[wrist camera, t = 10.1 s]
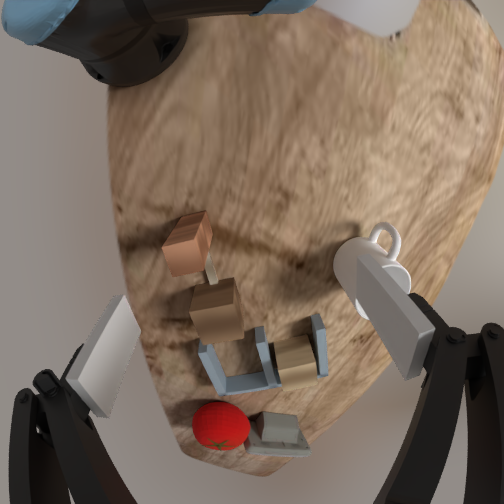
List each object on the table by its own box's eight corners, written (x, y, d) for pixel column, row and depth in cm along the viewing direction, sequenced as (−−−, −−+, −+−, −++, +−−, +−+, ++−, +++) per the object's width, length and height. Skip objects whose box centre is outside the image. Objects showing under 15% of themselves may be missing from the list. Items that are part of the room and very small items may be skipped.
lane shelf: (200, 337, 46) (197, 353, 42) (319, 313, 45) (325, 328, 41) (219, 380, 50) (219, 396, 47) (323, 360, 49) (328, 375, 46)
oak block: (273, 341, 47) (278, 370, 40) (307, 334, 47) (315, 362, 40) (278, 363, 49) (283, 391, 43) (309, 356, 49) (317, 384, 42)
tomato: (199, 389, 51) (195, 430, 42) (255, 400, 54) (258, 440, 44) (189, 414, 55) (185, 451, 46) (239, 424, 58) (240, 460, 48)
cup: (324, 278, 42) (345, 317, 33) (350, 205, 38) (382, 228, 28) (367, 287, 43) (394, 323, 34) (394, 219, 39) (431, 244, 29)
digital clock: (235, 421, 57) (236, 458, 47) (256, 403, 54) (259, 444, 44) (288, 434, 61) (294, 467, 51) (311, 418, 58) (319, 453, 49)
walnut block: (173, 218, 37) (150, 249, 27) (215, 208, 37) (206, 236, 27) (207, 316, 44) (200, 365, 34) (243, 309, 44) (245, 358, 34)
